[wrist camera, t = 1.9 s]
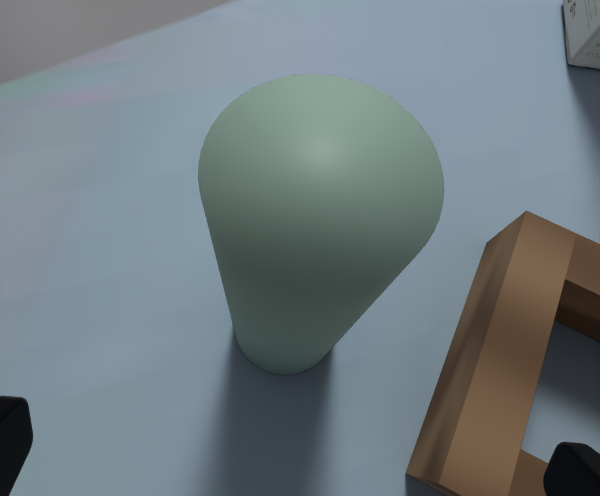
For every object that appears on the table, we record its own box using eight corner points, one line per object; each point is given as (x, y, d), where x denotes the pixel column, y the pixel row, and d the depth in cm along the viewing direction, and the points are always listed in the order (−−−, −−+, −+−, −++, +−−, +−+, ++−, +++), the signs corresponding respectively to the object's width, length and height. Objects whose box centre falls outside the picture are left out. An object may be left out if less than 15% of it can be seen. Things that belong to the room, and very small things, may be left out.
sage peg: (351, 352, 19) (488, 239, 8) (254, 391, 18) (246, 328, 7) (312, 262, 21) (380, 52, 9) (220, 294, 20) (167, 105, 8)
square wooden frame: (681, 619, 17) (783, 665, 13) (405, 473, 18) (438, 483, 14) (711, 348, 21) (794, 333, 18) (486, 242, 22) (526, 210, 19)
